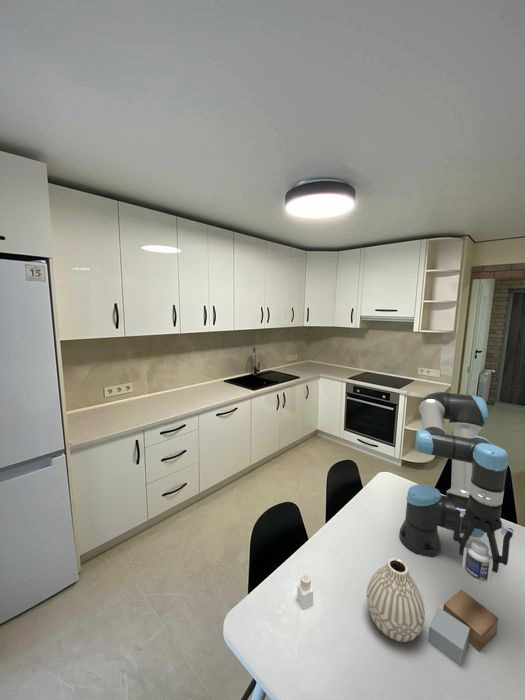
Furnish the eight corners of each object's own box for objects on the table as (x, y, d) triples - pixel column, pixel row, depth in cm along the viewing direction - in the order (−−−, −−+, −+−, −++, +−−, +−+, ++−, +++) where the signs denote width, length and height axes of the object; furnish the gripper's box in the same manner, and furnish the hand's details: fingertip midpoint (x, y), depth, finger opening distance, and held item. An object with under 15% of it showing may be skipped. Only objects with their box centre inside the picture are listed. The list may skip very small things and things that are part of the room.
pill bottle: (481, 586, 82) (485, 554, 81) (461, 571, 86) (464, 541, 85) (491, 578, 84) (495, 547, 83) (471, 564, 89) (474, 535, 88)
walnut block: (442, 620, 89) (443, 603, 88) (459, 605, 94) (461, 589, 93) (478, 654, 80) (481, 635, 80) (496, 635, 85) (498, 617, 84)
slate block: (427, 644, 83) (429, 626, 82) (436, 624, 88) (438, 606, 87) (460, 669, 77) (462, 650, 76) (467, 646, 82) (469, 628, 81)
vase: (358, 597, 96) (362, 542, 93) (407, 599, 95) (412, 544, 93) (375, 653, 80) (380, 589, 77) (434, 656, 80) (440, 592, 77)
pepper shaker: (296, 600, 94) (297, 575, 93) (306, 596, 96) (307, 570, 95) (302, 612, 91) (303, 585, 89) (313, 607, 92) (314, 581, 91)
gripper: (444, 490, 87) (437, 560, 89) (527, 522, 73) (516, 603, 76) (451, 480, 92) (444, 547, 94) (529, 508, 79) (519, 585, 81)
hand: (476, 572), depth 85 cm, fingers closed on pill bottle, 5 cm apart
